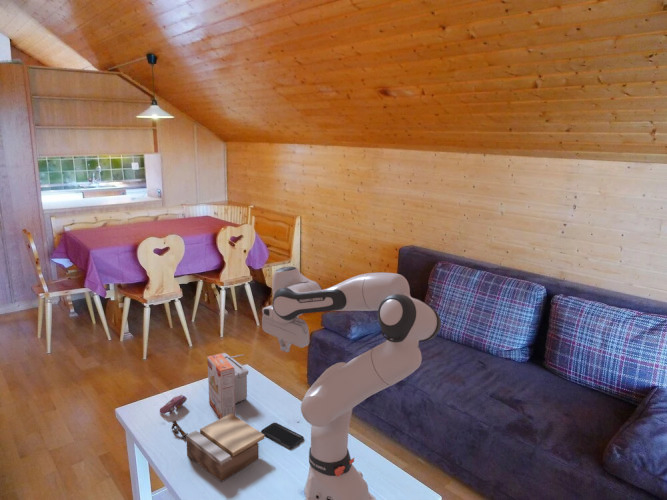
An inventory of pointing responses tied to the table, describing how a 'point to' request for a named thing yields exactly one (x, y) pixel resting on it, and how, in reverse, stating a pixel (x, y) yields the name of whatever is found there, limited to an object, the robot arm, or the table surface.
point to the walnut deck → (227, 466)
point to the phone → (282, 435)
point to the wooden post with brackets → (178, 429)
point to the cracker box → (221, 385)
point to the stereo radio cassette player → (238, 378)
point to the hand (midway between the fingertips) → (285, 350)
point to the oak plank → (232, 434)
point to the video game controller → (173, 404)
